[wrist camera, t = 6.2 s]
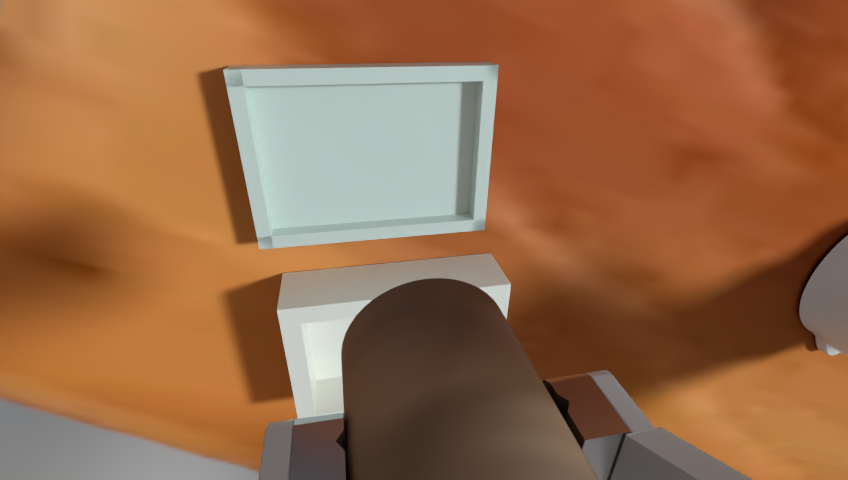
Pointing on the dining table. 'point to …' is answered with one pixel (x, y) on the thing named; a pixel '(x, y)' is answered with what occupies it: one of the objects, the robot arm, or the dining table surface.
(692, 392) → the dining table surface
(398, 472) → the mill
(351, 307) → the white storage bin
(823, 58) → the dining table surface
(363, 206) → the tray
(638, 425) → the robot arm
